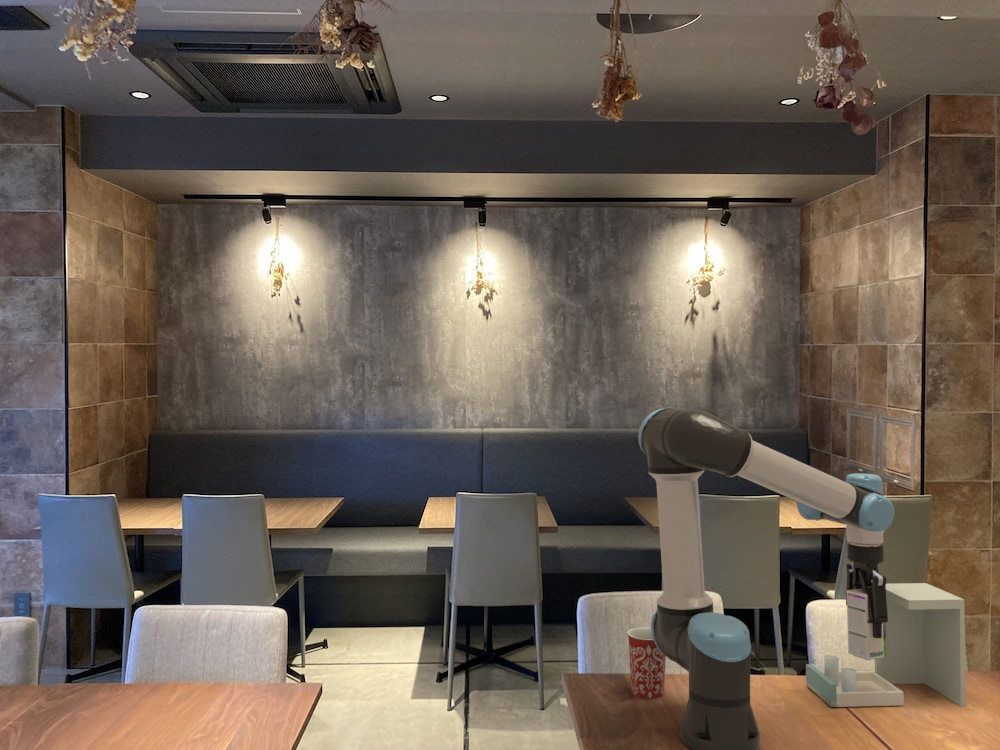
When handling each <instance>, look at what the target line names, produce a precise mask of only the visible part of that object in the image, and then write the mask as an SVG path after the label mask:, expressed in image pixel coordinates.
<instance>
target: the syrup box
mask: <svg viewBox="0 0 1000 750" xmlns="http://www.w3.org/2000/svg"><path fill="white" fill-rule="evenodd" d="M846 590H847V589H846ZM846 608H847V610H846V613H847V614H846V617H847V619H846V620H847V622H846V623H847V651H848V654H849V655H851V656H854V657H857V658H859V659H862V660H865V661H872V660H875V659H877V658H882V657H886V656H887V653H886V622H883V623H882V652H872V653H870V652H869V651H868V622H867V621H868V620H870V616H869V610H868V595H867V594H866V593H865V591H863V589H854V590H847V605H846Z"/></svg>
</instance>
